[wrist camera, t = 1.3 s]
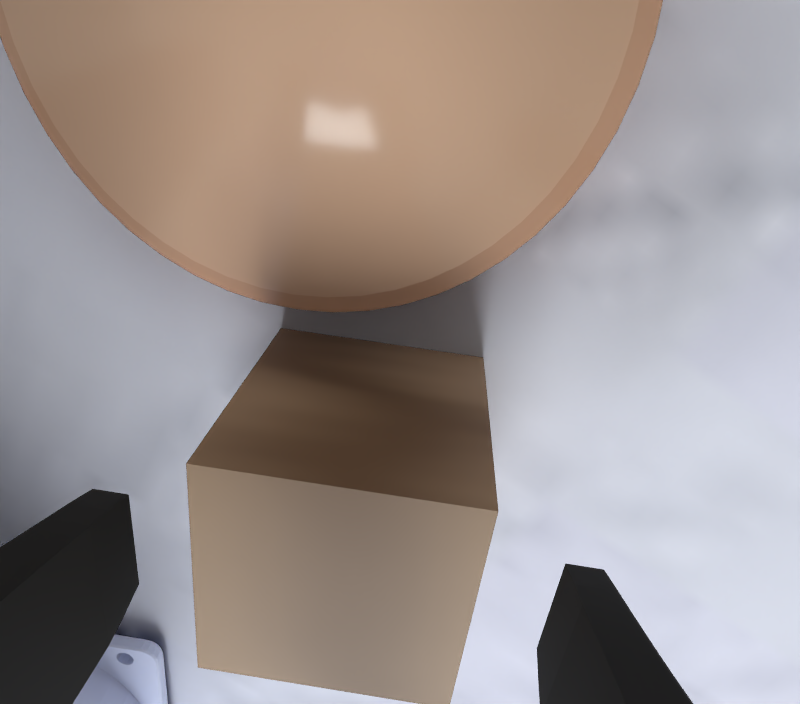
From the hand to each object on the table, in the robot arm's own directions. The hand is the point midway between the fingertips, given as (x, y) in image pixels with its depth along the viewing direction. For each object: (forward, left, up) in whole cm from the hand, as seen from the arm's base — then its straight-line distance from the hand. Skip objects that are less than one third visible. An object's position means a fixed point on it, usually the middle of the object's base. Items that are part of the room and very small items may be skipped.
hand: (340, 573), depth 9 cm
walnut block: (0, 0, -5) cm, 5 cm away
